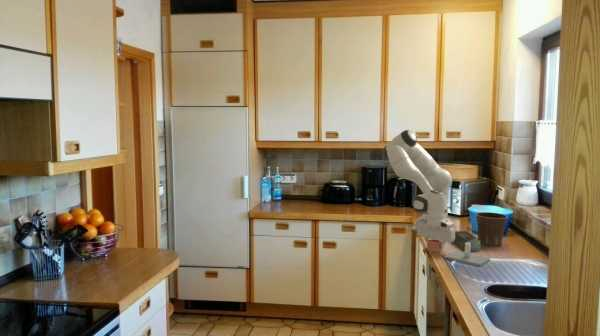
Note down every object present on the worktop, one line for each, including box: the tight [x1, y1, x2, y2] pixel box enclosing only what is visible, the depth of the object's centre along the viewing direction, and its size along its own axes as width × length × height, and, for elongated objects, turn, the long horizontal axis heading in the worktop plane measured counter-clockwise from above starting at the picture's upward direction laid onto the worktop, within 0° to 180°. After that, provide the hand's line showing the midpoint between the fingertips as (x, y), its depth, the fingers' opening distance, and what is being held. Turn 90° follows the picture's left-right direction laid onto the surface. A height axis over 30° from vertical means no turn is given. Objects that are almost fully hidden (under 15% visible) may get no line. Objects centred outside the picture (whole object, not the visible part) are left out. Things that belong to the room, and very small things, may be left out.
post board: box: [443, 243, 491, 267], centre depth 224 cm, size 18×12×8 cm, turn 47°
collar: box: [426, 238, 444, 253], centre depth 241 cm, size 6×6×5 cm
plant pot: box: [475, 211, 509, 247], centre depth 253 cm, size 16×16×16 cm
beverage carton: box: [452, 230, 482, 252], centre depth 248 cm, size 8×19×7 cm, turn 3°
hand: (435, 247), depth 241 cm, fingers closed on collar, 6 cm apart
